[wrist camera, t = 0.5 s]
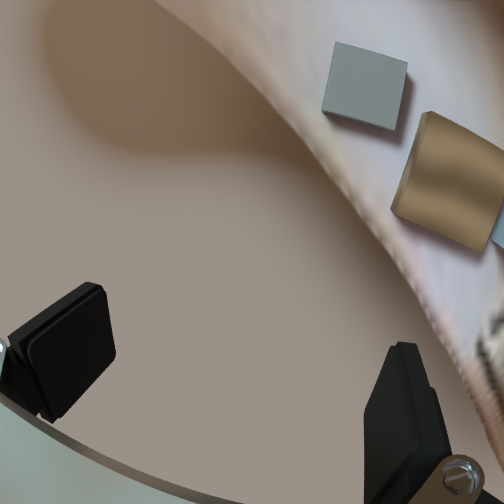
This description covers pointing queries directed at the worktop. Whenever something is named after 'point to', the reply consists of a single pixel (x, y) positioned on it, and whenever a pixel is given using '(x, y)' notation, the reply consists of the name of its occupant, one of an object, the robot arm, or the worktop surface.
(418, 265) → the worktop surface
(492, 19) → the worktop surface
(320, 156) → the worktop surface
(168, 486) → the robot arm
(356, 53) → the slate coaster
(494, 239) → the blue block
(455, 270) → the worktop surface
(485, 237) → the walnut slab
